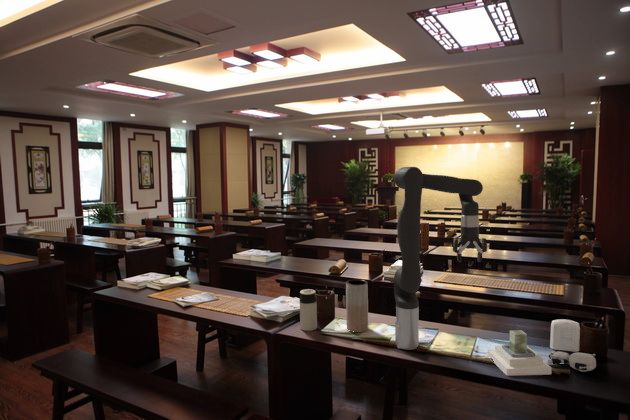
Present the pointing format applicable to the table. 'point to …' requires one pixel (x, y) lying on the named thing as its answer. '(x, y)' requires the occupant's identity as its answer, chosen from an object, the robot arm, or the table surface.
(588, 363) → the robot toy
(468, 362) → the table surface
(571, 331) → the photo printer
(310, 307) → the travel mug
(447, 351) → the table surface
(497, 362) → the plinth
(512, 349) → the block
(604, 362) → the table surface
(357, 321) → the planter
